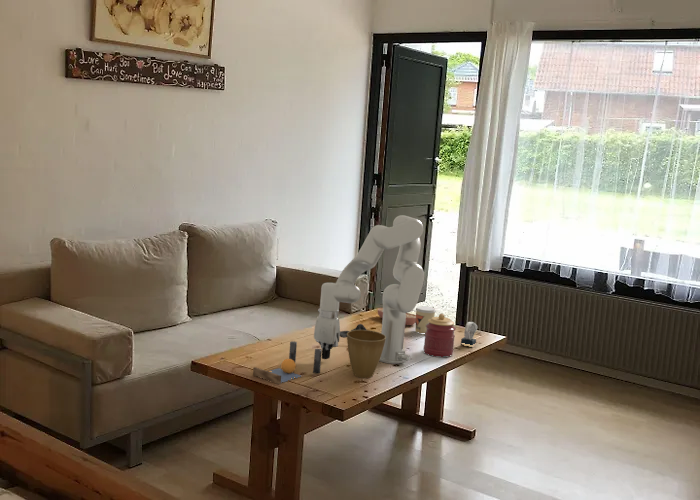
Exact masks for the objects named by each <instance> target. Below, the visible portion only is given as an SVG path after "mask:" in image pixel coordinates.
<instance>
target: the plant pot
mask: <svg viewBox="0 0 700 500" xmlns="http://www.w3.org/2000/svg"><path fill="white" fill-rule="evenodd" d="M352 330H353V329H352ZM348 331H349V330H348ZM385 339H386V336H385V335H383V334H381V332H378V331H373V330H368V329H366V330H353V331H351V330H350V331H349V332H348V333H347V337H346V342H347V351H348V358H349V362H350V367H351V370H352V374H353V376H355V377H356V378H361V379H369V378H373V375H374V373H375V372H376V369H377V368H378V365H379V363H380V361H379V360H380V357H381V354H382V351H383V347H384V344H385Z"/></svg>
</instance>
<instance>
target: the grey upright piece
mask: <svg viewBox="0 0 700 500" xmlns="http://www.w3.org/2000/svg"><path fill="white" fill-rule="evenodd" d="M477 330H478V325H477V324H476V322H474V321H467V322H466V324H465V326H464V334H463V335H464V337H461V341H460V344H461V343H465V344H470V345H473V344H475V343H476V344H477V338H474V336H475V334H476V332H477Z"/></svg>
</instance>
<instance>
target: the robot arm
mask: <svg viewBox="0 0 700 500" xmlns="http://www.w3.org/2000/svg"><path fill="white" fill-rule="evenodd" d="M423 232H424V225H423V223H422V221H421V220H419V219H418V218H414V217H411V216H408V215H402V214H400V215H398V216H395V218H394V220H393V222H392V226H390V227H388V226H387V225H381V224H377V225H374V226H373V227H372V228H371V229H370V231H369V233H367V236H366V238H365V240H363V241H364V242H363V244H362V245H361V247H360V249H359V251H358V253H357V254H356V255H355V257H354V258H352V260H351V261H349V263H348V264H347V265H345V267H344V268H343V270H342V271H341V273H340V275H339V276H338V278H337V279H336V281H335V282H324V283H322V285H321V289H320V301H319V302H320V304H319V308H318V310H317V312H318V313H319V314H318V315H317V317H316V319H315V324H314V329H313V330H314V331H313V338H314V340H315V342H316V343H318V344H319V345H320V349H321V350H322V353H321V360H327V359H328V360H329V359H330V356H331V349H333V348H337V347H339V342H340V339H341V337H340V331H341V323H340V322H341V321H340V318H339V313H340V310H339V309H340V303H347V304H354V303H357V302H358V301H359V300H360V299H361V296H362V291H361V290H360V288H359V287H358V286H357V285H356V284H355V283H357V282H356V281H357V280H358V278H359V277H360V276H361V275H362V274H363V273H364V272H367V271H369V270H371V269H374V268H375V267H376V265H377V263H378V261H379V260H380V258H381V256H382V254H383V252H384V251H385V250H391V249H395V248H398V247H399V249H398V252H397V257H396V260H395V263H394V265H393V270H392V275H393V277H394V279H395V280H397V281H398V282H399V283H400V284H398V283H393V284H392V283H391V284H389V285H388V286H387V285H386V287H385V288H384V290H383V293H382V308H383V319H382V322H381V332H380V333H381V334H383V335H385V336H386V339H385V344H384V347H383V351H382V354H381V357H380V360H379V362H381V363H385V364H392V365H394V364H395V365H396V364H397V365H398V364H403V363H405V362H409V360H410V357H411V356H410V355H409V354H406V350H405V349H404V341H405V332H406V331H405V330H406V325H405V323H406V313H411V312H412V311H413V310H415V309H416V306H417V304H418V301H419V297H420V295H421V292H422V289H423V286H424V285H423V284H424V281H425V272H424V269H423V267H422V266H421V265H420V264H418V261H419V257H420V252H421V248H422V247H421V245H422V244H421V236H422V235H423V234H424V233H423Z"/></svg>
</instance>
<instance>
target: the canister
mask: <svg viewBox="0 0 700 500" xmlns="http://www.w3.org/2000/svg"><path fill="white" fill-rule="evenodd" d="M428 322H429V323H428V324H426V328H427V329H426V332H425V335H424V344H423V352H425V353H424V354H426V355H428V354H429V355H428V356H431V355H433V356H432V357H436V356H441V357H440V358H444V357H443V356H449V357H451V356H450V355H452V356H453V353H454V349H455V348H454V344H455V343H454V342H455V335H456V334H455V331H456V327H455V326H454V325H455V322H454V321H453V320H452V319H451V318H449V317H445V314H444V313H440V314H438V316H434V317H432V318H431V319H429V320H428Z"/></svg>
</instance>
